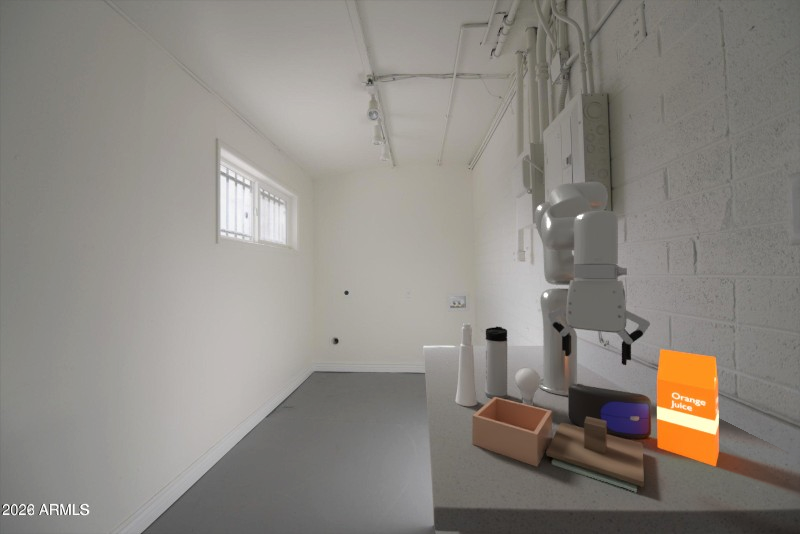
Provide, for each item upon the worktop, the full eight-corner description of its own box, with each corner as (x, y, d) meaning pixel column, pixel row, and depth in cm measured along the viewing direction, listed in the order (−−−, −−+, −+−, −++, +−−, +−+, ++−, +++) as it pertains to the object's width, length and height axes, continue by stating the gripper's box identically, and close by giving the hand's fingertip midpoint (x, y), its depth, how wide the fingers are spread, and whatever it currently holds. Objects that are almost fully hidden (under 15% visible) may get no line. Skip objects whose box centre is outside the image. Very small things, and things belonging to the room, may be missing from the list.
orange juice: (664, 435, 72) (663, 346, 72) (719, 451, 65) (718, 354, 66) (657, 447, 67) (656, 351, 67) (716, 467, 60) (714, 360, 60)
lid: (561, 428, 73) (560, 400, 74) (642, 450, 64) (642, 418, 65) (546, 458, 61) (546, 425, 62) (643, 490, 52) (643, 451, 53)
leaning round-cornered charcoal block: (568, 427, 75) (568, 387, 75) (568, 420, 79) (568, 381, 79) (654, 446, 67) (654, 401, 67) (650, 436, 71) (649, 394, 71)
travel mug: (509, 394, 95) (509, 327, 96) (504, 401, 90) (504, 330, 90) (488, 390, 99) (488, 325, 99) (482, 397, 93) (482, 328, 93)
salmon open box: (494, 421, 78) (494, 396, 78) (552, 438, 70) (552, 410, 70) (472, 444, 67) (472, 415, 67) (537, 466, 60) (537, 434, 60)
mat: (566, 431, 73) (566, 429, 73) (636, 450, 65) (636, 447, 65) (551, 464, 60) (551, 461, 60) (636, 493, 53) (636, 490, 53)
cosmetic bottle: (453, 404, 87) (453, 324, 88) (457, 396, 93) (457, 321, 94) (475, 408, 85) (476, 326, 86) (478, 399, 91) (478, 323, 91)
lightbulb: (543, 415, 81) (543, 372, 81) (517, 412, 83) (517, 370, 83) (537, 405, 87) (537, 365, 88) (513, 403, 89) (513, 363, 89)
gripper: (649, 274, 61) (649, 362, 61) (552, 272, 72) (552, 348, 72) (650, 274, 55) (650, 372, 55) (544, 273, 66) (544, 355, 66)
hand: (594, 358), depth 64 cm, fingers open, 9 cm apart
